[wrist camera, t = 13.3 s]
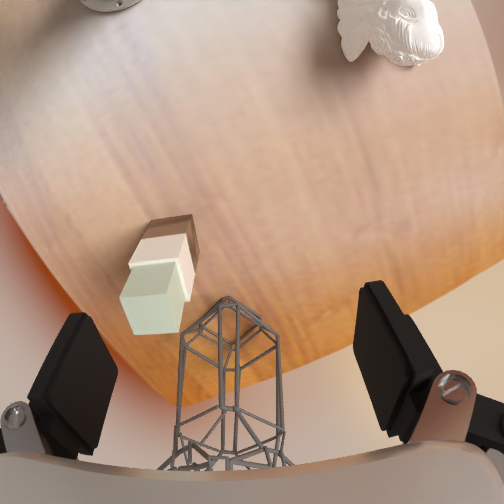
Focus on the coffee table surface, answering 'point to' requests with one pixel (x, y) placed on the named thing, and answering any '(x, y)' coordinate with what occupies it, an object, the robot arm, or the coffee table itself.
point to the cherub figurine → (391, 29)
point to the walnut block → (176, 232)
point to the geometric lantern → (222, 373)
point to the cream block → (167, 257)
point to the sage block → (153, 298)
